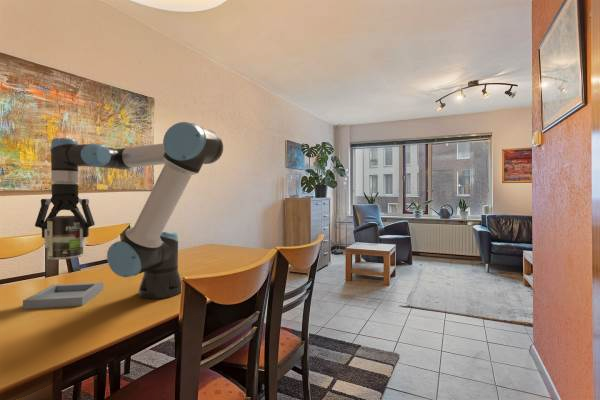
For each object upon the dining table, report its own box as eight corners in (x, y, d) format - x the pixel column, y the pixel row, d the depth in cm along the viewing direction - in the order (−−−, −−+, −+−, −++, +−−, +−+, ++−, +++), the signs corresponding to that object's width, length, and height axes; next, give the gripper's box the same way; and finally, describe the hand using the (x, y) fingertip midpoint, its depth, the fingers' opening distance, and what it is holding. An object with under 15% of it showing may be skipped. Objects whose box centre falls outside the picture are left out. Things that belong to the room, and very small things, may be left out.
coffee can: (90, 254, 114) (90, 215, 113) (64, 260, 104) (63, 218, 103) (67, 252, 116) (66, 215, 116) (39, 258, 106) (38, 217, 105)
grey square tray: (103, 289, 120) (103, 282, 120) (82, 305, 104) (82, 297, 104) (53, 292, 117) (52, 284, 117) (22, 309, 100) (22, 300, 100)
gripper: (105, 184, 115) (105, 244, 116) (34, 183, 110) (35, 245, 111) (96, 183, 108) (97, 247, 108) (20, 182, 103) (21, 249, 104)
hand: (65, 246), depth 110 cm, fingers closed on coffee can, 10 cm apart
